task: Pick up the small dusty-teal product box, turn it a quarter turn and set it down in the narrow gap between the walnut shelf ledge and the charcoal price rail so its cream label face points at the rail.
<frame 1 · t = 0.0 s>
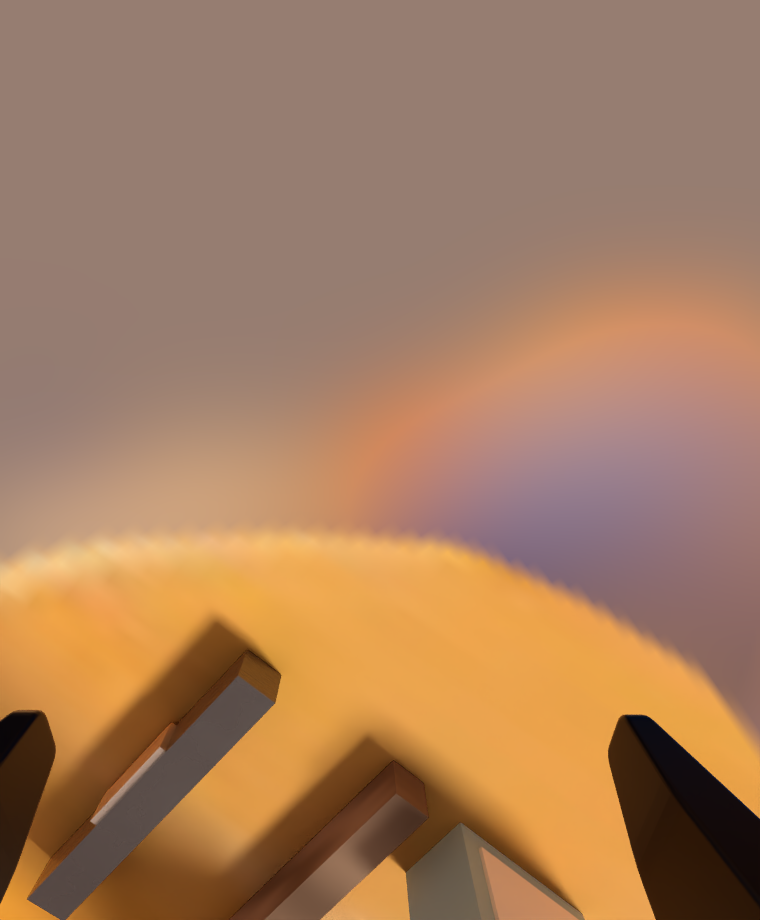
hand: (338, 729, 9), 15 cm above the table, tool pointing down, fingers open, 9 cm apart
product box: (495, 892, 29), on the table
price rail: (162, 770, 27), on the table
shelf ledge: (306, 869, 28), on the table
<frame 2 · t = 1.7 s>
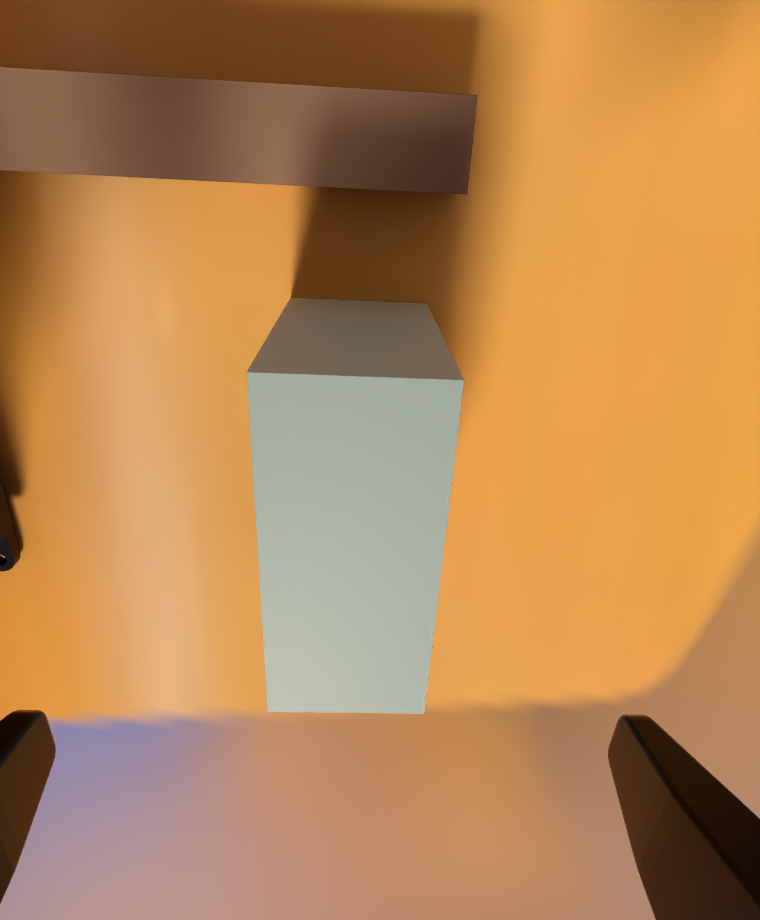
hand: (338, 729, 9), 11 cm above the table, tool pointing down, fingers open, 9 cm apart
product box: (355, 438, 19), on the table
shelf ledge: (169, 133, 14), on the table
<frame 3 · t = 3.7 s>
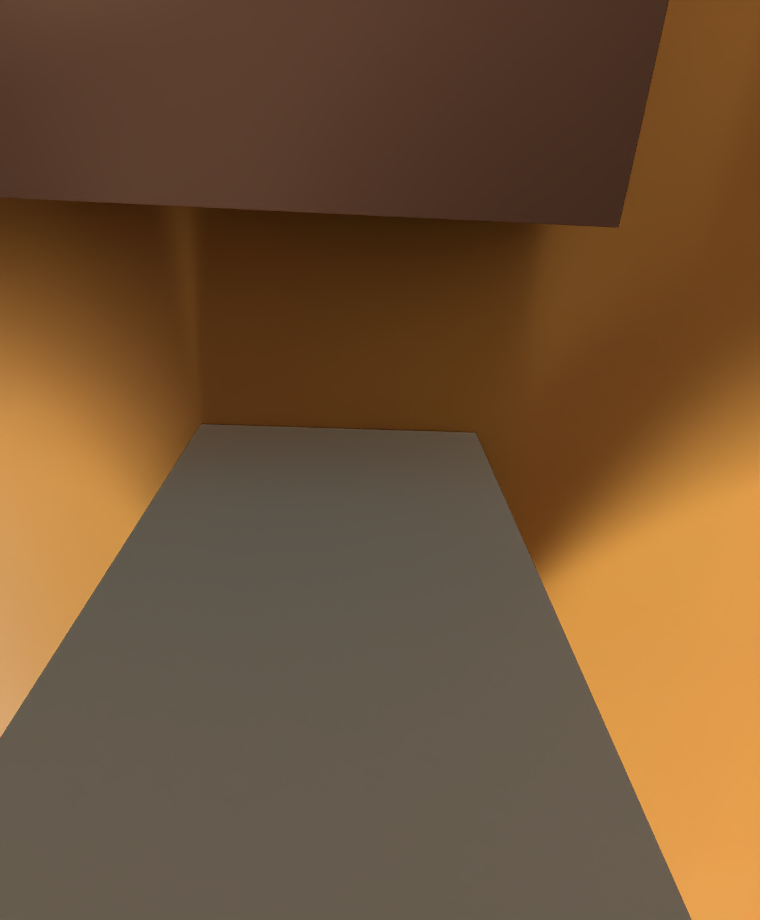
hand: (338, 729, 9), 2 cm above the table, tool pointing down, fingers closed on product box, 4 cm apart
product box: (336, 655, 10), on the table, touching gripper
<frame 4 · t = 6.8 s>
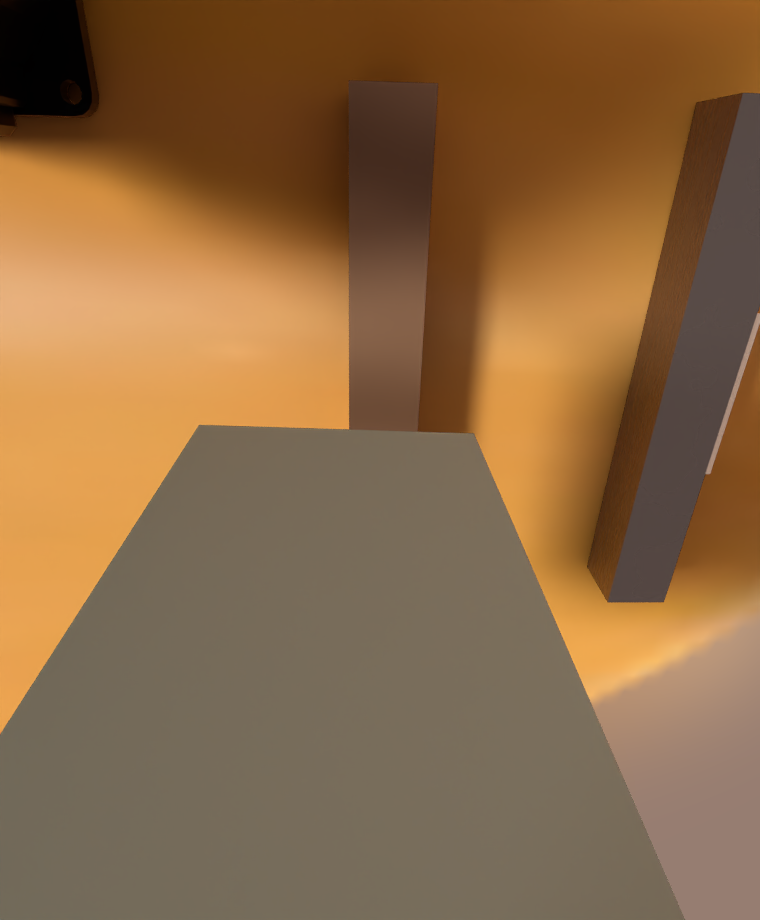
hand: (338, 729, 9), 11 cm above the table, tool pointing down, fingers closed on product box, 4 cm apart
product box: (334, 655, 10), point 9 cm above the table, touching gripper
price rail: (662, 378, 18), on the table
shelf ledge: (382, 375, 18), on the table
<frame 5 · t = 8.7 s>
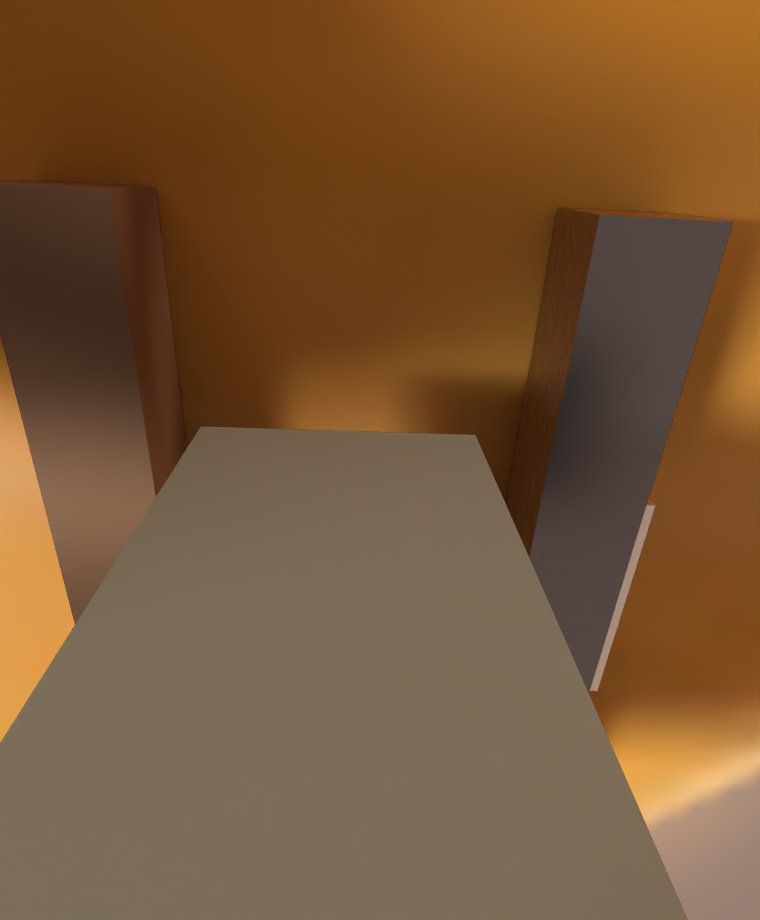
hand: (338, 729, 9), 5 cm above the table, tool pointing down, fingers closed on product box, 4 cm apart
product box: (335, 656, 10), point 3 cm above the table, touching gripper
price rail: (538, 554, 13), on the table
shelf ledge: (154, 545, 13), on the table
when the fingers open (3 cm above the table, at t = 10.1 s): product box drops 2 cm, on the table.
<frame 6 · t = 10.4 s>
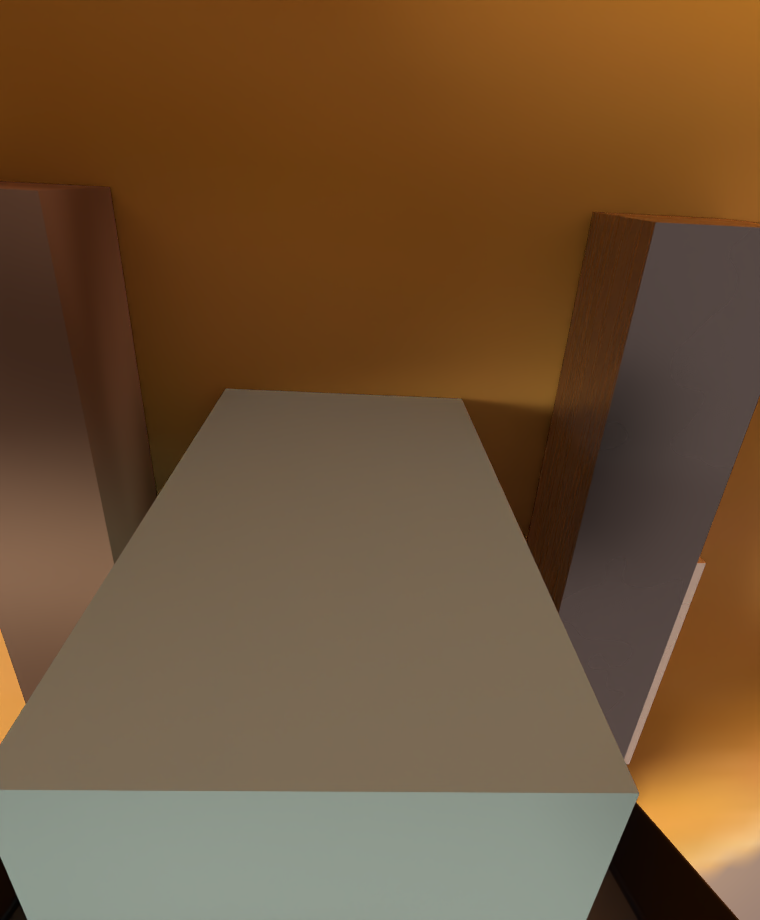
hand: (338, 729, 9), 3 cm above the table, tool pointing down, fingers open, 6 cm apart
product box: (338, 597, 12), on the table
price rail: (561, 605, 12), on the table
shelf ledge: (121, 597, 11), on the table
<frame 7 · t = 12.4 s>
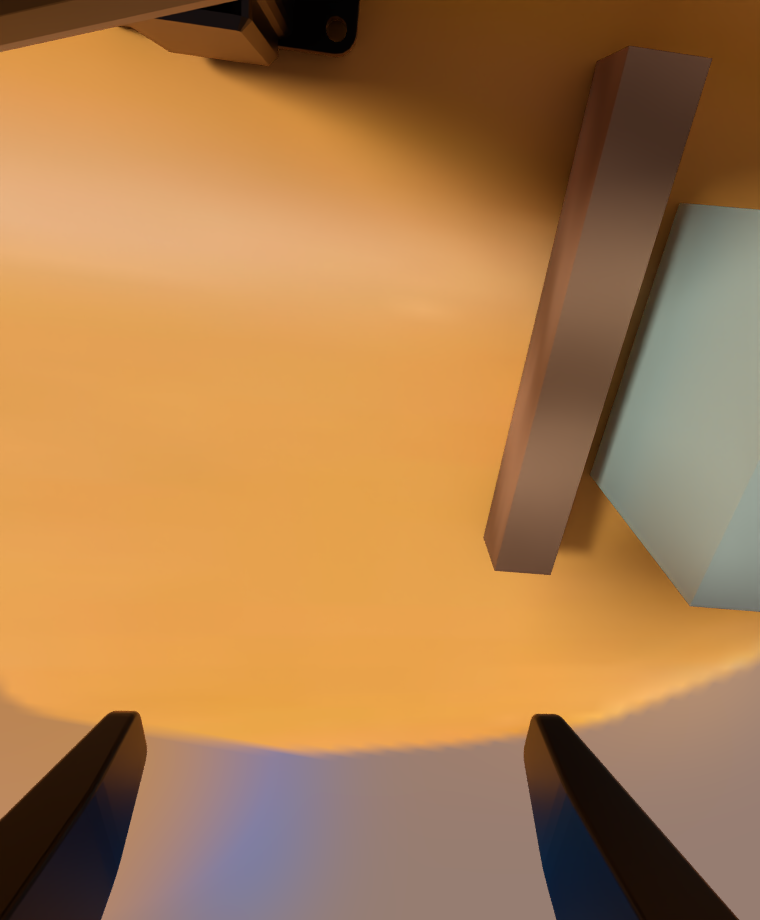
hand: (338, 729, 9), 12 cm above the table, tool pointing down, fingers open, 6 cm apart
product box: (687, 359, 19), on the table
shelf ledge: (560, 346, 18), on the table
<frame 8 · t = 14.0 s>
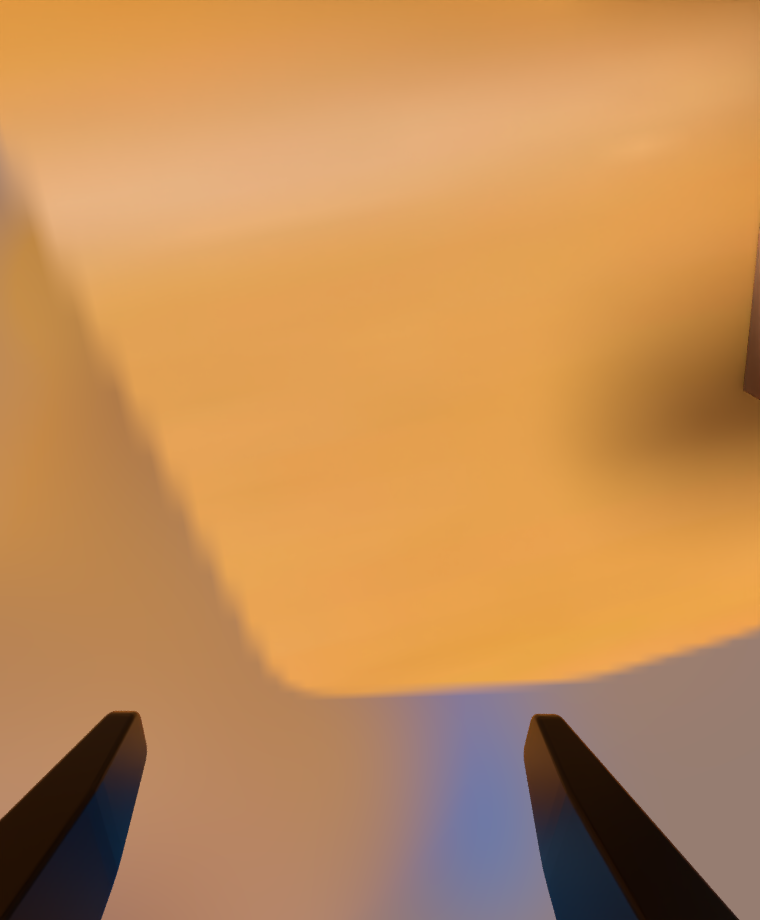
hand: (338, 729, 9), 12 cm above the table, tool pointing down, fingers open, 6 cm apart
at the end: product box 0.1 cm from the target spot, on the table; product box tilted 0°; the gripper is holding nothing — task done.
